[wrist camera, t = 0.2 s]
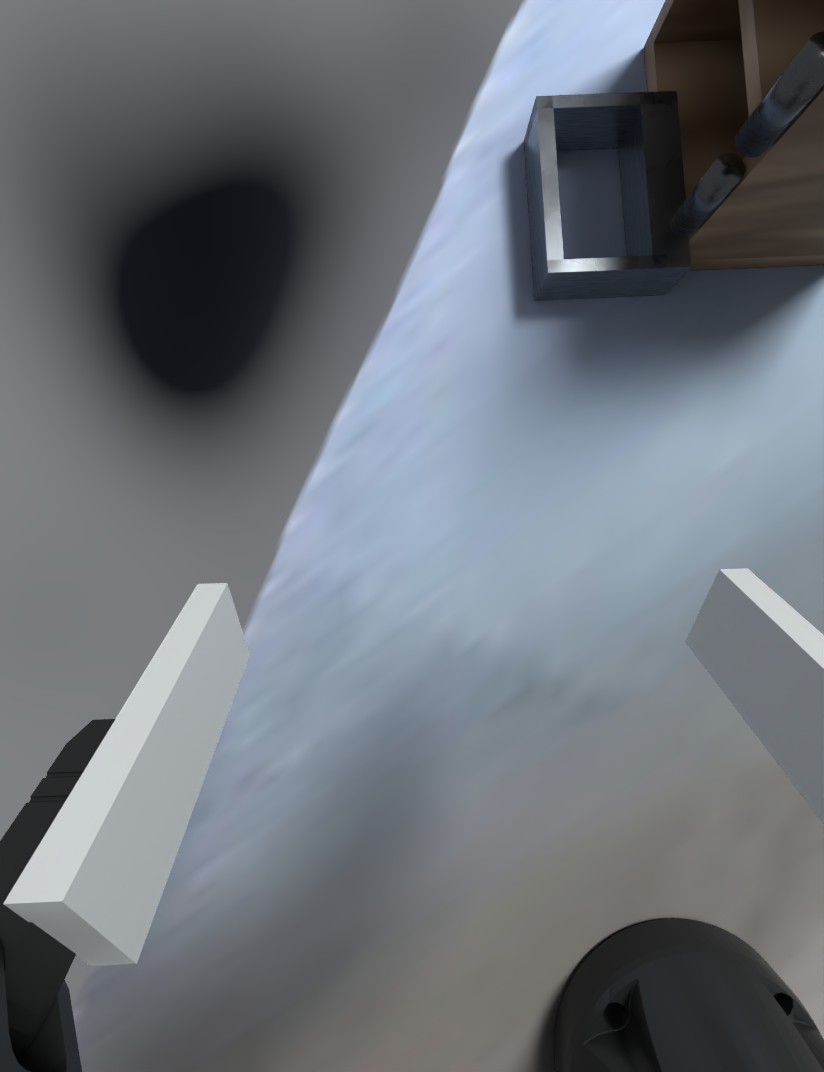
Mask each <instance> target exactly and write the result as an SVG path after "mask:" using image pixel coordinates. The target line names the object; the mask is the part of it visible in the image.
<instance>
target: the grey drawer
mask: <svg viewBox="0 0 824 1072" xmlns="http://www.w3.org/2000/svg"><path fill="white" fill-rule="evenodd" d="M823 86H824V32H819V33H816V34H814V35H813V36H812V37H811V38H810V39H809V40H808V41H807V43H806V44H805V45H804V46H803V48H802V49H801V50H800V52H799V53H798V54H797V56H796V57H795V58H794V59H793V61H792V62H791V63H790V65H789V66H788V67H787V68H786V70H785V71H784V72H783V74H782V75H781V76H780V77H779V79H778V80H777V81H776V83H775V84H774V85H773V87H772V88H771V89H770V90H769V92H768V93H767V94H766V96H765V97H764V98H763V99H762V101H761V102H760V103H759V105H758V106H757V107H756V108H755V110H754V111H753V112H752V114H751V115H750V116H749V118H748V119H747V120H746V121H745V123H744V124H743V125H742V127H741V128H740V129H739V130H738V132H737V133H736V136H735V146H736V148H737V150H738V151H739V152H740V153H741V154H742V155H744V156H746V157H750V158H754V157H759V156H761V155H762V154H763V153H765V151H766V150H767V149H768V148H769V147H770V146H771V145H772V143H773V142H774V141H775V140H776V139H777V138H778V137H779V135H780V134H781V133H782V132H783V131H784V130H785V129H786V128H787V126H788V125H789V124H790V123H791V122H792V121H793V120H794V118H795V117H796V116H797V115H798V114H799V113H800V112H801V111H802V109H803V108H804V107H805V106H806V105H807V104H808V103H809V101H810V100H811V99H812V98H813V97H814V96H815V95H816V93H817V92H818V91H819V90H820V89H821V88H822V87H823ZM524 147H525V162H526V178H527V193H528V209H529V224H530V239H531V255H532V270H533V286H534V301H536V300H559V299H581V298H604V297H627V296H649V295H664V294H665V293H666V292H667V291H668V290H669V289H670V288H671V287H672V286H673V285H674V284H675V283H676V282H677V281H678V280H679V279H680V278H681V277H682V276H683V275H684V274H685V273H686V272H687V271H688V270H689V269H690V268H691V256H690V244H689V236H690V235H692V234H693V233H694V232H695V231H696V230H697V229H698V227H699V226H700V225H701V224H702V223H703V222H704V221H705V220H706V218H707V217H708V216H709V215H710V214H711V213H712V212H713V210H714V209H715V208H716V207H717V206H718V205H719V204H720V203H721V201H722V200H723V199H724V198H725V197H726V196H727V195H728V193H729V192H730V191H731V190H732V189H733V188H734V187H735V185H736V184H737V183H738V182H739V181H740V180H741V179H742V177H743V176H744V174H745V164H744V162H743V160H742V159H741V158H740V157H739V156H737V155H735V154H732V153H725V154H722V155H720V156H719V157H718V158H717V159H716V160H715V161H714V163H713V164H712V165H711V167H710V168H709V169H708V171H707V172H706V173H705V174H704V176H703V177H702V178H701V180H700V181H699V182H698V183H697V185H696V186H695V187H694V189H693V190H692V191H691V192H690V194H689V195H688V196H687V198H686V196H685V184H684V172H683V160H682V148H681V136H680V123H679V111H678V99H677V91H660V92H635V93H609V94H584V95H559V96H536V99H535V103H534V106H533V110H532V114H531V117H530V121H529V125H528V128H527V132H526V135H525V139H524ZM604 148H619V161H620V174H621V188H622V201H623V214H624V227H625V240H626V254H627V257H606V258H583V259H564V257H563V242H562V227H561V213H560V198H559V184H558V169H557V154H556V150H580V149H604Z"/></svg>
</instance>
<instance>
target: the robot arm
mask: <svg viewBox="0 0 824 1072" xmlns="http://www.w3.org/2000/svg"><path fill="white" fill-rule="evenodd" d="M685 642H686V643H687V645H688V646H689V647H690V649H691V650H692V651H693V653H694V654H695V655H696V657H697V658H698V659H699V661H700V662H701V663H702V665H703V666H704V667H705V669H706V670H707V671H708V672H709V674H710V675H711V676H712V678H713V679H714V680H715V682H716V683H717V684H718V686H719V687H720V688H721V690H722V691H723V692H724V694H725V695H726V696H727V697H728V699H729V700H730V701H731V703H732V704H733V705H734V707H735V708H736V709H737V711H738V712H739V713H740V715H741V716H742V717H743V719H744V720H745V721H746V723H747V724H748V725H749V726H750V728H751V729H752V730H753V732H754V733H755V734H756V736H757V737H758V738H759V740H760V741H761V742H762V744H763V745H764V746H765V748H766V749H767V750H768V752H769V753H770V754H771V755H772V757H773V758H774V759H775V761H776V762H777V763H778V765H779V766H780V767H781V769H782V770H783V771H784V773H785V774H786V775H787V777H788V778H789V779H790V781H791V782H792V783H793V784H794V786H795V787H796V788H797V790H798V791H799V792H800V794H801V795H802V796H803V798H804V799H805V800H806V802H807V803H808V804H809V806H810V807H811V808H812V809H813V811H814V812H815V813H816V815H817V816H818V817H819V819H820V820H821V821H822V823H823V824H824V635H823V634H822V633H820V632H819V631H818V630H817V629H816V628H815V627H814V626H813V625H811V624H810V623H809V622H808V621H807V620H806V619H805V618H803V617H802V616H801V615H800V614H799V613H798V612H797V611H795V610H794V609H793V608H792V607H791V606H790V605H789V604H787V603H786V602H785V601H784V600H783V599H782V598H781V597H779V596H778V595H777V594H776V593H775V592H774V591H773V590H771V589H770V588H769V587H768V586H767V585H766V584H765V583H763V582H762V581H761V580H760V579H759V578H758V577H757V576H755V575H754V574H753V573H752V572H751V571H750V570H749V569H720V570H719V572H718V574H717V576H716V578H715V580H714V582H713V584H712V586H711V588H710V591H709V593H708V595H707V597H706V599H705V601H704V603H703V605H702V607H701V610H700V612H699V614H698V616H697V618H696V620H695V622H694V624H693V626H692V629H691V631H690V633H689V635H688V637H687V639H686V641H685ZM249 657H250V655H249V651H248V648H247V645H246V642H245V638H244V635H243V632H242V629H241V626H240V622H239V619H238V616H237V613H236V610H235V606H234V603H233V600H232V597H231V593H230V590H229V587H228V584H227V583H219V584H218V583H217V584H198V585H197V586H196V588H195V590H194V591H193V593H192V594H191V596H190V598H189V600H188V601H187V603H186V604H185V606H184V608H183V609H182V611H181V613H180V614H179V616H178V617H177V619H176V621H175V622H174V624H173V626H172V627H171V629H170V631H169V632H168V634H167V636H166V637H165V639H164V640H163V642H162V644H161V645H160V647H159V649H158V650H157V652H156V654H155V655H154V657H153V658H152V660H151V662H150V663H149V665H148V667H147V669H146V670H145V672H144V673H143V675H142V677H141V678H140V680H139V681H138V683H137V685H136V686H135V688H134V690H133V692H132V693H131V695H130V696H129V698H128V700H127V701H126V703H125V704H124V706H123V708H122V710H121V711H120V713H119V714H118V716H117V718H116V719H104V720H92V721H91V722H90V723H89V724H88V725H87V726H85V727H84V728H83V729H82V730H81V731H80V732H79V733H78V734H77V735H76V736H75V737H73V738H72V739H71V740H70V741H69V742H68V743H67V744H66V745H65V747H64V748H63V750H62V751H61V753H60V754H59V756H58V757H57V758H56V760H55V762H54V763H53V764H52V766H51V767H50V769H49V770H48V772H47V776H46V778H43V779H42V781H41V782H40V783H39V785H38V787H37V788H36V789H35V791H34V792H33V794H32V795H31V800H30V802H29V803H26V804H25V806H24V807H23V809H22V810H21V812H20V813H19V815H18V816H17V818H16V819H15V821H14V822H13V823H12V825H11V826H10V828H9V829H8V831H7V832H6V833H5V835H4V836H3V838H2V840H1V841H0V1072H82V1069H81V1062H80V1056H79V1050H78V1044H77V1037H76V1031H75V1025H74V1019H73V1012H72V1006H71V1000H70V994H69V989H68V986H67V984H66V982H65V980H64V979H65V977H66V975H67V972H68V970H69V968H70V966H71V964H72V962H73V959H74V957H75V956H77V957H78V958H80V959H81V960H83V961H84V962H85V963H86V964H88V965H89V966H103V965H124V964H137V962H138V959H139V956H140V954H141V951H142V948H143V945H144V943H145V940H146V937H147V935H148V932H149V929H150V926H151V924H152V921H153V918H154V915H155V913H156V910H157V907H158V905H159V902H160V899H161V896H162V894H163V891H164V888H165V885H166V883H167V880H168V877H169V875H170V872H171V869H172V866H173V864H174V861H175V858H176V856H177V853H178V850H179V847H180V845H181V842H182V839H183V836H184V834H185V831H186V828H187V826H188V823H189V820H190V817H191V815H192V812H193V809H194V807H195V804H196V801H197V798H198V796H199V793H200V790H201V787H202V785H203V782H204V779H205V777H206V774H207V771H208V768H209V766H210V763H211V760H212V757H213V755H214V752H215V749H216V747H217V744H218V741H219V738H220V736H221V733H222V730H223V728H224V725H225V722H226V719H227V717H228V714H229V711H230V708H231V706H232V703H233V700H234V698H235V695H236V692H237V689H238V687H239V684H240V681H241V679H242V676H243V673H244V670H245V668H246V665H247V662H248V659H249ZM554 1057H555V1066H556V1072H824V1039H823V1038H822V1036H821V1034H820V1032H819V1030H818V1028H817V1026H816V1025H815V1023H814V1021H813V1020H812V1018H811V1016H810V1015H809V1013H808V1012H807V1010H806V1009H805V1007H804V1006H803V1005H802V1003H801V1002H800V1000H799V999H798V998H797V996H796V995H795V994H794V993H793V992H792V990H791V989H790V988H789V987H788V986H787V985H786V984H785V982H784V981H783V980H782V979H781V978H780V977H779V976H778V974H777V973H776V972H775V971H774V970H773V969H772V968H771V966H770V965H769V964H768V963H767V962H766V961H765V960H764V959H763V958H762V957H761V955H760V954H759V953H757V952H756V951H755V950H754V949H753V948H752V947H751V946H749V945H748V944H747V943H746V942H744V941H743V940H741V939H740V938H738V937H737V936H735V935H733V934H731V933H730V932H728V931H726V930H724V929H721V928H719V927H716V926H714V925H711V924H708V923H704V922H700V921H695V920H689V919H659V920H653V921H648V922H644V923H641V924H638V925H635V926H632V927H630V928H627V929H625V930H623V931H621V932H619V933H617V934H616V935H614V936H612V937H611V938H609V939H608V940H606V941H605V942H604V943H602V944H601V945H600V946H599V947H598V948H596V949H595V950H594V951H593V952H592V953H591V954H590V955H589V956H588V957H587V958H586V960H585V961H584V962H583V963H582V964H581V966H580V967H579V969H578V970H577V971H576V973H575V974H574V976H573V978H572V979H571V981H570V983H569V985H568V987H567V989H566V991H565V994H564V996H563V998H562V1001H561V1004H560V1007H559V1011H558V1015H557V1020H556V1025H555V1034H554Z"/></svg>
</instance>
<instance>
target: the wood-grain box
mask: <svg viewBox="0 0 824 1072" xmlns="http://www.w3.org/2000/svg"><path fill="white" fill-rule="evenodd" d="M819 32H824V0H665V3H664V5H663V7H662V9H661V11H660V13H659V16H658V18H657V20H656V22H655V24H654V26H653V29H652V31H651V33H650V35H649V37H648V39H647V42H646V44H645V46H644V51H645V64H646V77H647V89H648V92H660V91H677V99H678V111H679V123H680V136H681V148H682V160H683V172H684V184H685V196H686V198H687V196H688V195H689V194H690V192H691V191H692V190H693V189H694V187H695V186H696V185H697V183H698V182H699V181H700V180H701V178H702V177H703V176H704V174H705V173H706V172H707V171H708V169H709V168H710V167H711V165H712V164H713V163H714V161H715V160H716V159H717V158H718V157H719V156H720V155H722V154H725V153H732V154H735V155H737V156H739V157H740V158H741V159H742V160H743V162H744V164H745V174H744V176H743V177H742V179H741V180H740V181H739V182H738V183H737V184H736V185H735V187H734V188H733V189H732V190H731V191H730V192H729V193H728V195H727V196H726V197H725V198H724V199H723V200H722V201H721V203H720V204H719V205H718V206H717V207H716V208H715V209H714V210H713V212H712V213H711V214H710V215H709V216H708V217H707V218H706V220H705V221H704V222H703V223H702V224H701V225H700V226H699V227H698V229H697V230H696V231H695V232H694V233H693V234H692V235H690V236H689V244H690V256H691V268H690V269H689V270H688V271H690V270H713V269H736V268H759V267H781V266H804V265H824V86H823V87H822V88H821V89H820V90H819V91H818V92H817V93H816V95H815V96H814V97H813V98H812V99H811V100H810V101H809V103H808V104H807V105H806V106H805V107H804V108H803V109H802V111H801V112H800V113H799V114H798V115H797V116H796V117H795V118H794V120H793V121H792V122H791V123H790V124H789V125H788V126H787V128H786V129H785V130H784V131H783V132H782V133H781V134H780V135H779V137H778V138H777V139H776V140H775V141H774V142H773V143H772V145H771V146H770V147H769V148H768V149H767V150H766V151H765V153H763V154H762V155H761V156H759V157H754V158H750V157H746V156H744V155H742V154H741V153H740V152H739V151H738V150H737V148H736V146H735V136H736V133H737V132H738V130H739V129H740V128H741V127H742V125H743V124H744V123H745V121H746V120H747V119H748V118H749V116H750V115H751V114H752V112H753V111H754V110H755V108H756V107H757V106H758V105H759V103H760V102H761V101H762V99H763V98H764V97H765V96H766V94H767V93H768V92H769V90H770V89H771V88H772V87H773V85H774V84H775V83H776V81H777V80H778V79H779V77H780V76H781V75H782V74H783V72H784V71H785V70H786V68H787V67H788V66H789V65H790V63H791V62H792V61H793V59H794V58H795V57H796V56H797V54H798V53H799V52H800V50H801V49H802V48H803V46H804V45H805V44H806V43H807V41H808V40H809V39H810V38H811V37H812V36H813V35H814V34H816V33H819Z"/></svg>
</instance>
